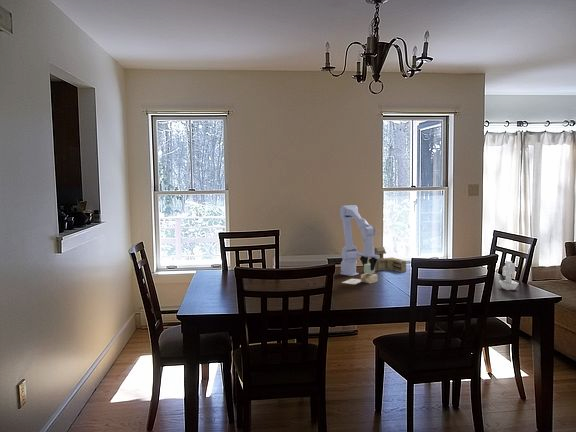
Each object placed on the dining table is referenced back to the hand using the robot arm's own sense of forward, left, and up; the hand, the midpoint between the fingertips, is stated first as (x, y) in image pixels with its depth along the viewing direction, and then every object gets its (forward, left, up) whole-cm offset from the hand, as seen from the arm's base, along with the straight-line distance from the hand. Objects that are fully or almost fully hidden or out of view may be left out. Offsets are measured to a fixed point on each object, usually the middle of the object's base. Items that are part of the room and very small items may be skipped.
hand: (368, 269), depth 265 cm
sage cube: (0, 0, -2) cm, 2 cm away
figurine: (+66, +34, -7) cm, 75 cm away
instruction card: (-7, -6, -7) cm, 12 cm away
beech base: (0, 0, -7) cm, 7 cm away
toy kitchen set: (-9, +31, -8) cm, 33 cm away
